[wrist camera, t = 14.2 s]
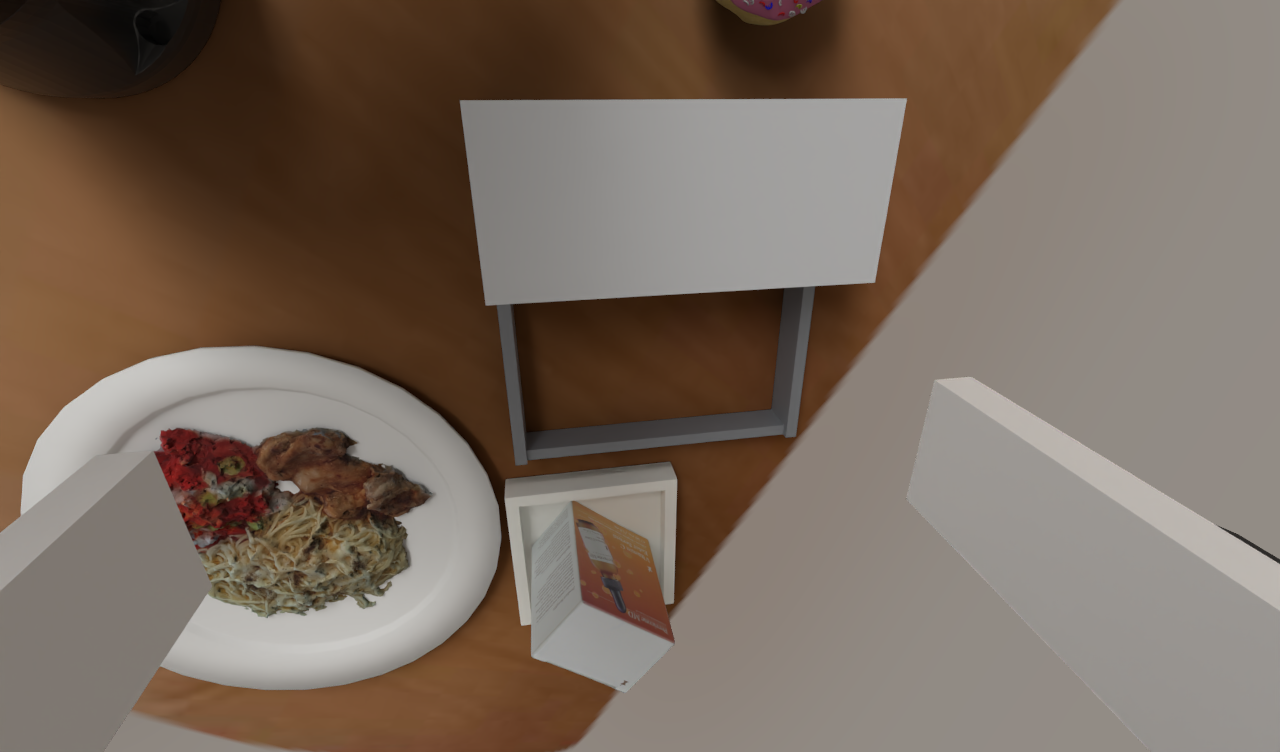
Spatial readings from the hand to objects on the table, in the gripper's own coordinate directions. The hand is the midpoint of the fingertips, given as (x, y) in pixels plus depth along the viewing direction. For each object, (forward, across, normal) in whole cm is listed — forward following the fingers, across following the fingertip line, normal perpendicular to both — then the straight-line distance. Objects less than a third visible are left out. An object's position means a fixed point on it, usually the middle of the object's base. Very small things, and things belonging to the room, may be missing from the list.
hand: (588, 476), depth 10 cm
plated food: (+29, -20, -22) cm, 42 cm away
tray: (+29, +2, -26) cm, 39 cm away
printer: (+29, +7, -5) cm, 30 cm away
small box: (+28, +2, -26) cm, 38 cm away
